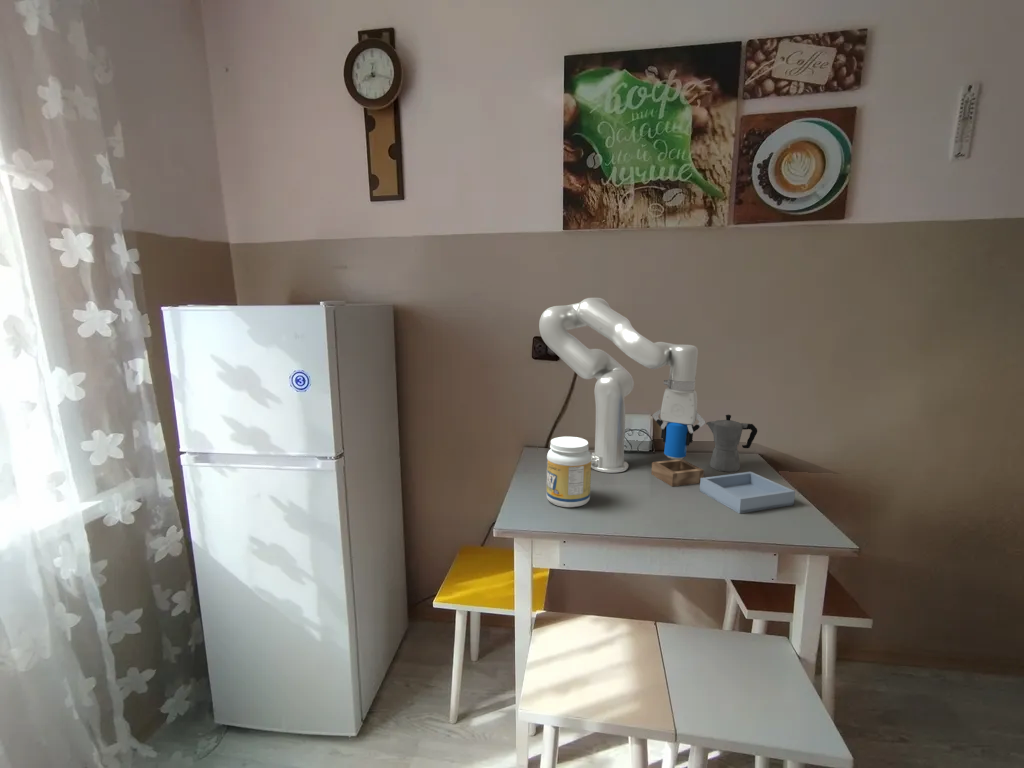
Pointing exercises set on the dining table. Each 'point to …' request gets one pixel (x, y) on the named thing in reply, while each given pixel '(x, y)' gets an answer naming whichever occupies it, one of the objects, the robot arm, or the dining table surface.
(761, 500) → the tray
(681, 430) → the beverage can
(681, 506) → the dining table surface
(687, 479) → the brown wooden box
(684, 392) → the robot arm
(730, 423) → the coffeepot
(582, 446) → the supplement tub
